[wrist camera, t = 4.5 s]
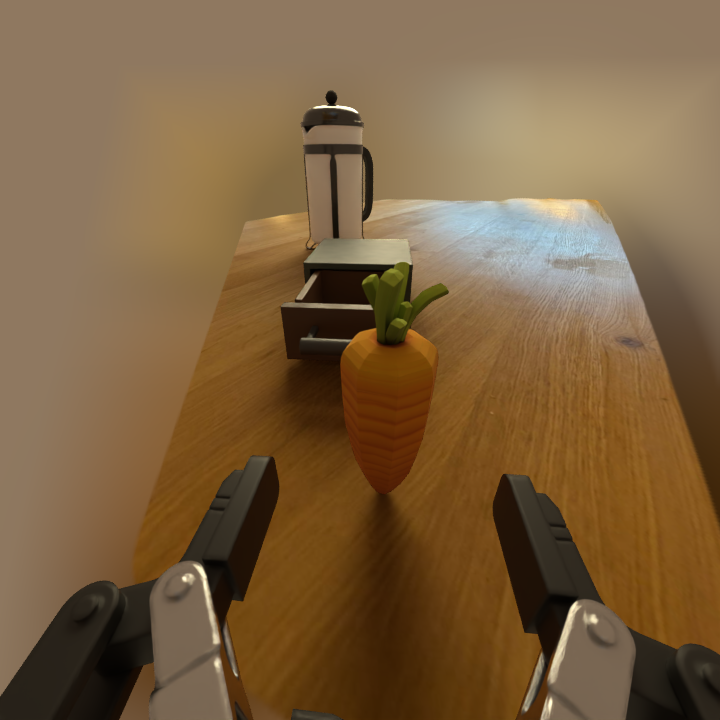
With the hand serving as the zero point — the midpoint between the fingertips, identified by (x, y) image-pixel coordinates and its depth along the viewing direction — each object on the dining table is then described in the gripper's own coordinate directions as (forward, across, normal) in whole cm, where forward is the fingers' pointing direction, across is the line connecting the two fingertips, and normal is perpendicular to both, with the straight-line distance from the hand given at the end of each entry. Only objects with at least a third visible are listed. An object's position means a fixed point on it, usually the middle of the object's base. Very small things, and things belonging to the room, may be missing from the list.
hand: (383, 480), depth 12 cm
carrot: (+6, 0, +9) cm, 11 cm away
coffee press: (+75, +13, +9) cm, 77 cm away
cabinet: (+40, +4, +9) cm, 41 cm away
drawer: (+25, +4, +8) cm, 27 cm away
